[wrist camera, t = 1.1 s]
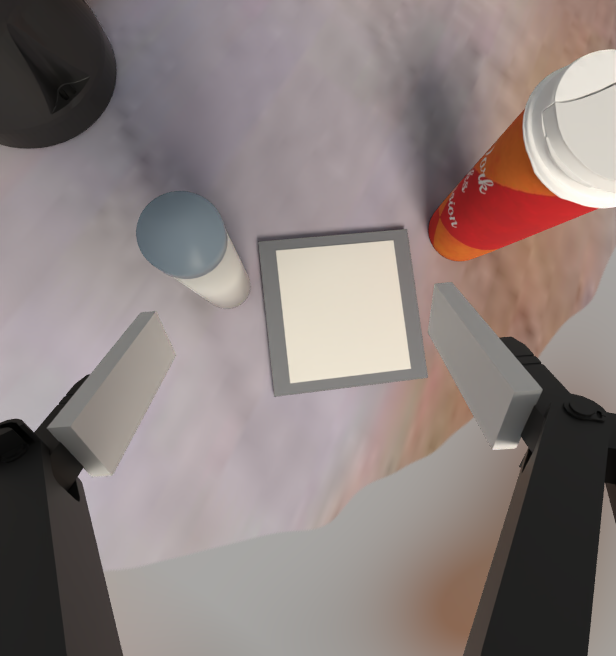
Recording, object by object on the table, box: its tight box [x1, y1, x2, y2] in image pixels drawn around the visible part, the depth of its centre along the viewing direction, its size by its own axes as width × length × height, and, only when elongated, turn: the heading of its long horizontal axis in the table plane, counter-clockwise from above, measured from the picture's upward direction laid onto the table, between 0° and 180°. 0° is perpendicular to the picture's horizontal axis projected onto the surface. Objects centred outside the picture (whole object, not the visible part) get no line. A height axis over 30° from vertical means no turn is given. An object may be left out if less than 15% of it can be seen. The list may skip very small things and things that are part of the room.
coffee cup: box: [428, 50, 616, 261], centre depth 23 cm, size 8×8×15 cm
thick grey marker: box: [136, 191, 251, 309], centre depth 22 cm, size 4×4×14 cm
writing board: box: [258, 229, 428, 397], centre depth 29 cm, size 14×14×1 cm
